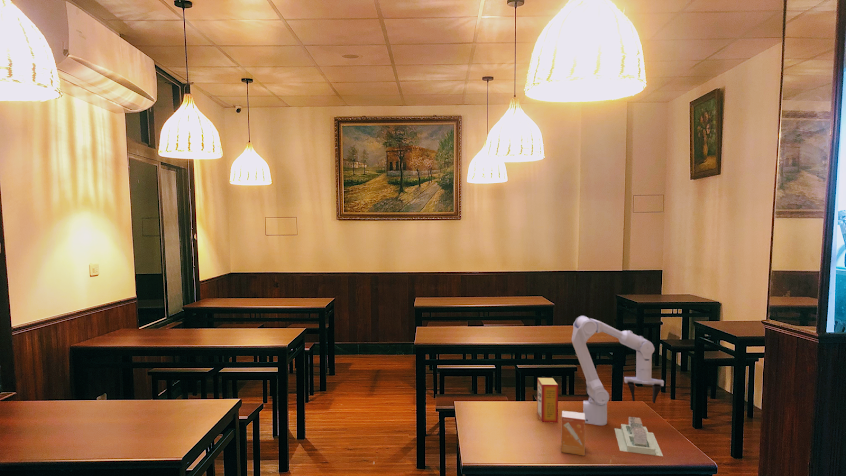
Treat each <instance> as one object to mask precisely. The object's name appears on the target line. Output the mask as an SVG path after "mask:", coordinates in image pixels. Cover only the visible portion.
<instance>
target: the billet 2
mask: <svg viewBox="0 0 846 476" xmlns="http://www.w3.org/2000/svg"><path fill="white" fill-rule="evenodd" d="M632 445H633V446H641V447H647V435H646V432H645V430H644V428H638V427H632Z"/></svg>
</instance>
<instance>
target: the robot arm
mask: <svg viewBox="0 0 846 476" xmlns="http://www.w3.org/2000/svg"><path fill="white" fill-rule="evenodd" d="M572 326H573V327H572V328H573V329H572V333H571V342H572V346H573V348H574V350H575V351H574V352H575V355H576V356H577V359H578V362H579V364H580V367H581V370H582V373H583V375H584V377H585V380H586V381H585V383H586V393H587V395H588V400H583V401H582V404H583V405H582V409H583V411H582V413H585V424H590V425H595V426H605V425H607V424H608V402H609V400H610V393H609V392H608V391H607V390H606V389H605V387H604V385H603V384H602V382H601V380H600V378H599V375H598V372H597V370H596V368H595V365H594V362H593V359H592V356H591V354H590V351H589V349H588V346H587V342H588V340H589V339H590V338H591V337H592V336H593V335H595V334H599V333H605V334H607V335H609V336H612V337H613V338H616V339H618V342H619V343H620V344H621V345H624V346H626V347H628V348H630V349H632V350H635V351H636V353H635V354H636V357H635V358H636V359H635V360H636V361H635V364H636V365H635V367H636V368H635V371H636V372H635V373H636V374H635V376H624V378H623V380H624V383H625V384H627V386H628V388H629V391H630V393H631V401H632V402H635V401H636V399H635V397H636V396H635V391H636V390H635V388H636V386H635V384H642V385H651V386H652V403H653V404H656V400H657V398H658V395H659V393H660V391H661V389H662V387H664V384H665V381H664V380H663V379H657V378H652V368H653V366H652V364H653V362H652V359H653V358H652V357H653V353H655V346H654V344H653V343H652V342H651V341H650V340H648V339H647V338H644V336H643V335H637V334H635V333H633V331H632V330H629V329H628V330H627V329H626V330H625V329H624V330H622V331H621V330H619V329H616V328H614V327H612V326H611V325H609V324H607V323H604V322H602V321H601V320H597V319H594V318H591V317H587V316H586V315H580V316H578V317H576V318H575V321H574V322H573V325H572Z"/></svg>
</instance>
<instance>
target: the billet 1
mask: <svg viewBox="0 0 846 476" xmlns="http://www.w3.org/2000/svg"><path fill="white" fill-rule="evenodd" d="M642 422H643V421H642V419H641V417H635V416H628V425H629V434H632V427H638V428H642V426H643V423H642Z"/></svg>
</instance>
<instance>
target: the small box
mask: <svg viewBox="0 0 846 476" xmlns="http://www.w3.org/2000/svg"><path fill="white" fill-rule="evenodd" d="M560 431H561V432H560V433H561V435H560V436H561V437H560V439H561V441H560V443H561V448H560V451H561V452H560V453H566V454H573V455H580V456H584V457H585V455H586V454H585V453H586V452H585V451H586V423H585V413H583V412H577V411H567V410H562V411H561V430H560Z"/></svg>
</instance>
